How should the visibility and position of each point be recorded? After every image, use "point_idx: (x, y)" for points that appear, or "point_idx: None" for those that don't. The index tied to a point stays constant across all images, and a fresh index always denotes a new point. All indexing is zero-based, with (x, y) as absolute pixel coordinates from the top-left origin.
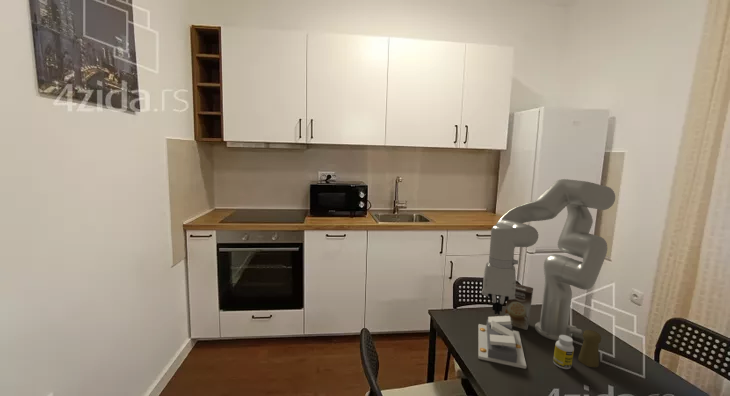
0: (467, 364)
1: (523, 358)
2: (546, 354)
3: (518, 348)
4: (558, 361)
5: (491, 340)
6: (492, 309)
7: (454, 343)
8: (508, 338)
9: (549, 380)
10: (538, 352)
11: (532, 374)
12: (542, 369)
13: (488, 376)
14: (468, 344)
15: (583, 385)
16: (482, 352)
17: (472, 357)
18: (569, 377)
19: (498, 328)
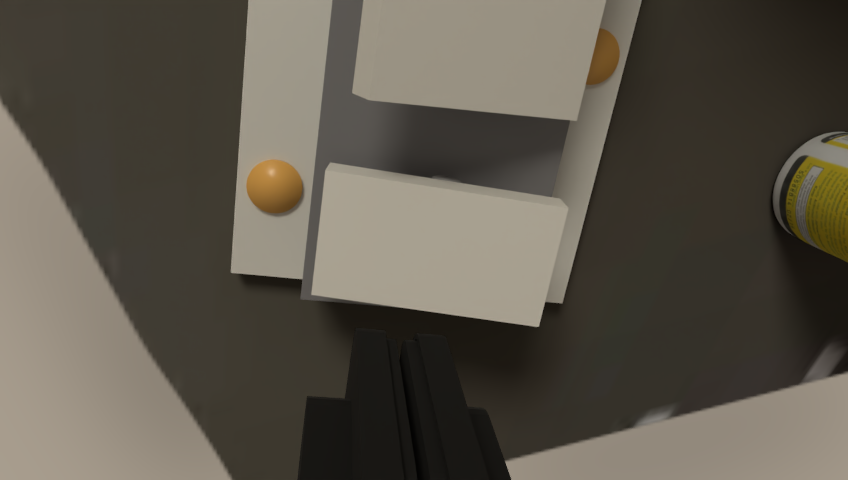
0: (149, 347)
1: (575, 219)
2: (779, 83)
3: (586, 87)
4: (804, 237)
5: (326, 282)
6: (301, 445)
7: (16, 89)
8: (499, 247)
9: (653, 362)
10: (731, 68)
11: (575, 335)
12: (661, 271)
13: (288, 423)
14: (154, 76)
15: (820, 354)
16: (267, 218)
17: (188, 258)
18: (785, 306)
19: (439, 84)
